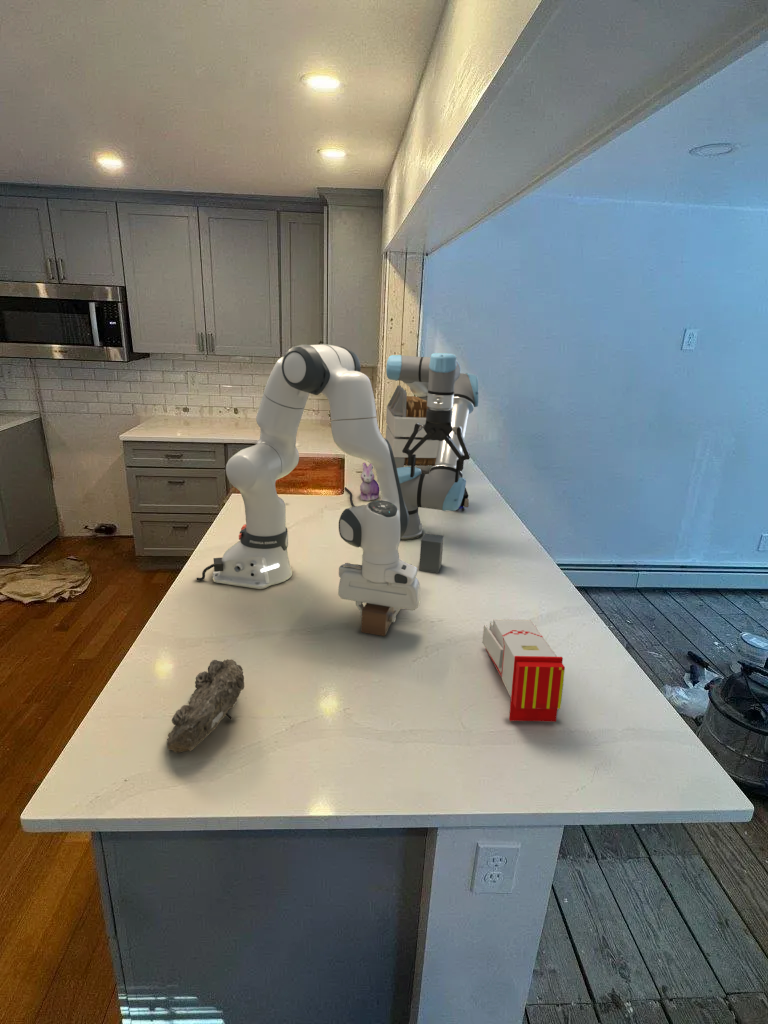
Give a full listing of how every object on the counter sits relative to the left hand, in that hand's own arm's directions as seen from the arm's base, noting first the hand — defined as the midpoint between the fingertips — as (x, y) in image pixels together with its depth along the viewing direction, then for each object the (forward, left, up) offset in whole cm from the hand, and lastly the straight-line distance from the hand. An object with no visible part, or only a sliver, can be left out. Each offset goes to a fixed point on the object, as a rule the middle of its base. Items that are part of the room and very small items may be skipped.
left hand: (377, 618), depth 141 cm
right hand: (+15, +42, +24) cm, 51 cm away
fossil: (-30, -36, -2) cm, 47 cm away
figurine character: (+29, +94, -2) cm, 99 cm away
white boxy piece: (+15, +142, -2) cm, 143 cm away
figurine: (-7, +100, -2) cm, 101 cm away
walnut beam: (+2, +11, -2) cm, 11 cm away
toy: (+31, -19, -2) cm, 36 cm away
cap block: (+15, +35, -2) cm, 39 cm away
